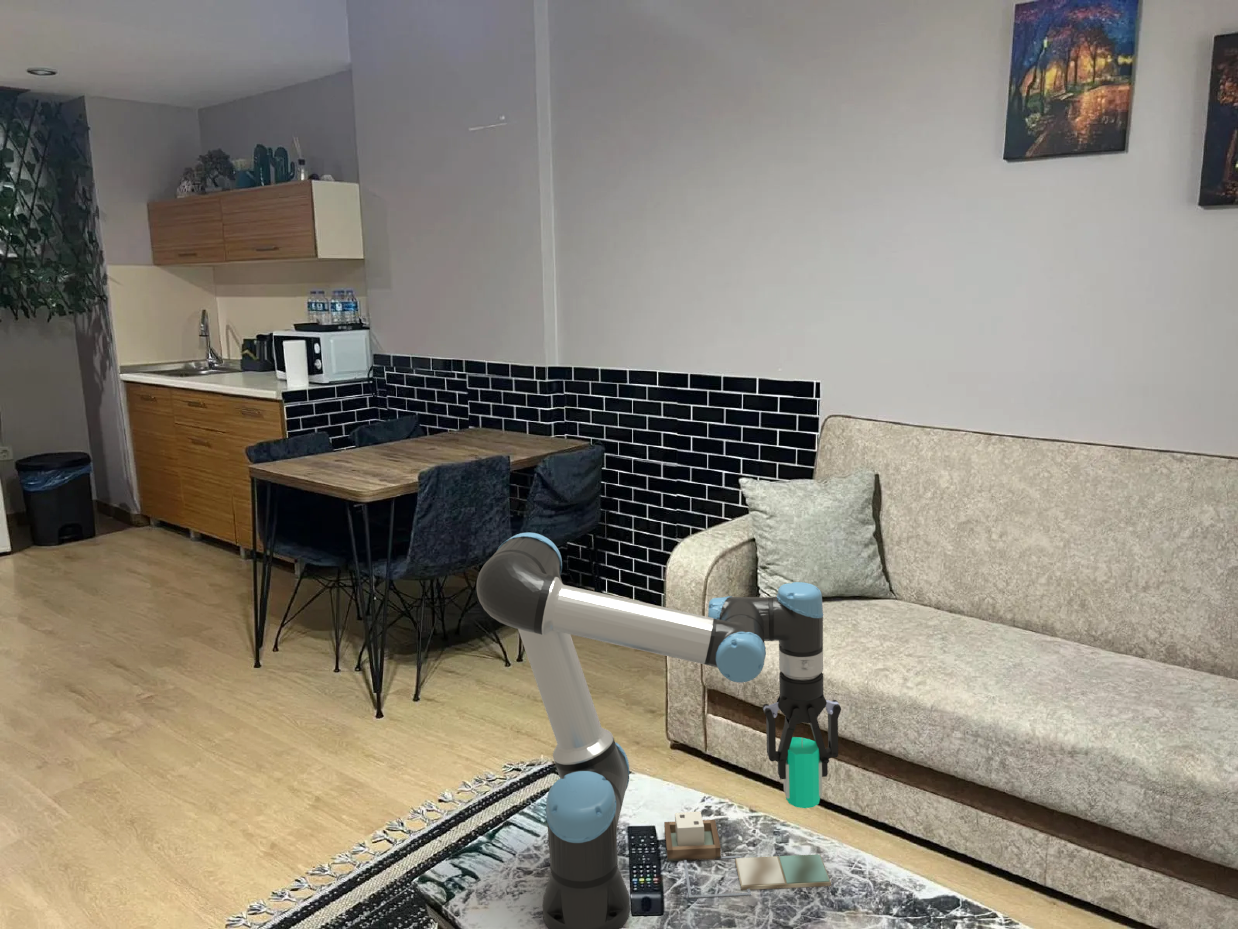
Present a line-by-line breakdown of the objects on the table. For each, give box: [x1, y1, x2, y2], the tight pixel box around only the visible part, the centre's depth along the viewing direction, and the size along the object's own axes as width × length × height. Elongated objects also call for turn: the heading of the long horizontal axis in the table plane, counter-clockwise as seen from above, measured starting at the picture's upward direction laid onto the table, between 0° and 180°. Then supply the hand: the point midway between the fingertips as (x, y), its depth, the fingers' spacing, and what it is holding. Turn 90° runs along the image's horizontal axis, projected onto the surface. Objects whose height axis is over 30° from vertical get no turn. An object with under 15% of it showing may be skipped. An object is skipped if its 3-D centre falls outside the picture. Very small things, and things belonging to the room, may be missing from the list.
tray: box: [663, 819, 722, 862], centre depth 176 cm, size 10×9×2 cm
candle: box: [785, 736, 821, 809], centre depth 163 cm, size 6×6×12 cm
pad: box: [683, 855, 752, 899], centre depth 167 cm, size 11×11×1 cm
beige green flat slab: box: [734, 853, 832, 891], centre depth 167 cm, size 16×8×1 cm, turn 91°
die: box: [674, 811, 704, 846], centre depth 176 cm, size 5×5×5 cm
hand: (802, 792), depth 164 cm, fingers closed on candle, 5 cm apart
